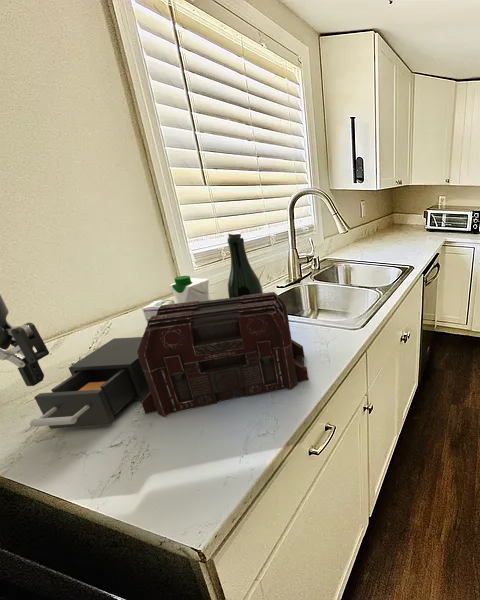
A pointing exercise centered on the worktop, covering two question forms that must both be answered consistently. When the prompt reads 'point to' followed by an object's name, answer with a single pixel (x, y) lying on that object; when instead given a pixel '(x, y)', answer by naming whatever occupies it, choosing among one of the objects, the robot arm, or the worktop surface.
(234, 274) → the beer bottle
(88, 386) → the orange block
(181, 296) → the milk carton
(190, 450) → the worktop surface
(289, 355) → the crate
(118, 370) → the drawer
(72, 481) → the worktop surface
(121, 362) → the dark grey box shell
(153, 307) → the syrup box
